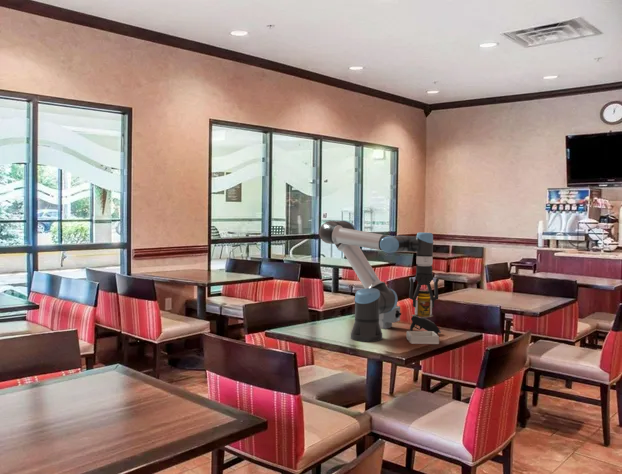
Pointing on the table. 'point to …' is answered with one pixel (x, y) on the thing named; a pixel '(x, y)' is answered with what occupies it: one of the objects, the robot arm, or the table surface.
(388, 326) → the circuit breaker
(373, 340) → the robot arm
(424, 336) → the tray
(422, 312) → the condiment
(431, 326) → the gun
